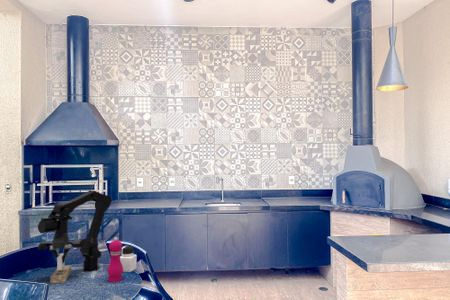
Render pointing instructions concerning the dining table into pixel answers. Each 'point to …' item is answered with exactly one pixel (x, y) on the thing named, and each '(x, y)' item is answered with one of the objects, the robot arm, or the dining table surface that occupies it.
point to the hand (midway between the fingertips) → (60, 262)
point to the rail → (60, 275)
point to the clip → (60, 262)
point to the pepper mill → (115, 261)
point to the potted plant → (128, 259)
